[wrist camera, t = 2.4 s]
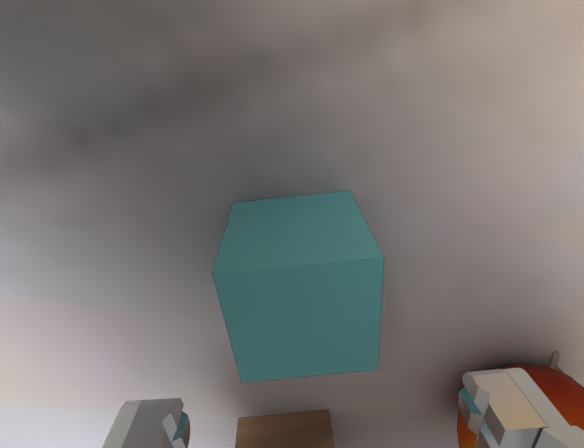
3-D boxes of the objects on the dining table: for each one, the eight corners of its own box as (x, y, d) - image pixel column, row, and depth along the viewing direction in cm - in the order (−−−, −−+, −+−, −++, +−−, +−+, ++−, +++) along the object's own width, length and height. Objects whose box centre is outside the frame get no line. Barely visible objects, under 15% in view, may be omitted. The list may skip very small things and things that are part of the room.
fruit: (612, 417, 20) (653, 590, 15) (470, 386, 25) (461, 509, 19) (628, 334, 16) (690, 525, 11) (457, 315, 21) (441, 443, 16)
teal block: (233, 201, 14) (212, 273, 9) (349, 189, 14) (383, 256, 9) (251, 291, 16) (241, 382, 12) (350, 281, 16) (377, 369, 12)
